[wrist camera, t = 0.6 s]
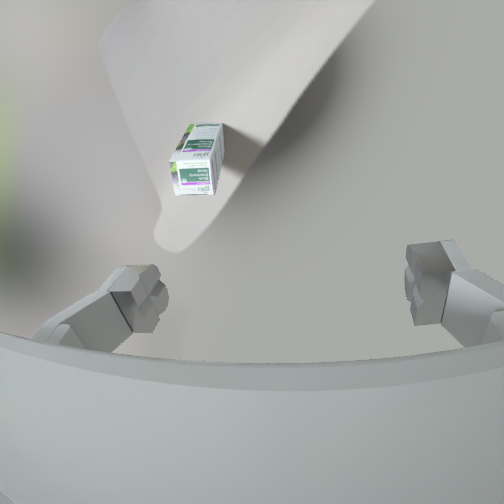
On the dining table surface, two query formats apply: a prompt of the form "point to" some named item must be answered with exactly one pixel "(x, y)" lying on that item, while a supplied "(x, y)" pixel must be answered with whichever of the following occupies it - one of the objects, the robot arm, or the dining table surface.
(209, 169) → the syrup box
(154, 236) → the dining table surface
